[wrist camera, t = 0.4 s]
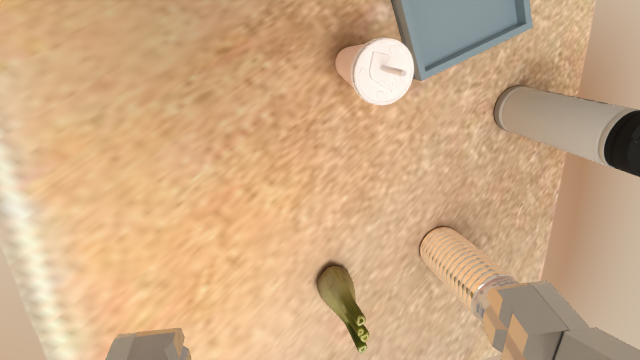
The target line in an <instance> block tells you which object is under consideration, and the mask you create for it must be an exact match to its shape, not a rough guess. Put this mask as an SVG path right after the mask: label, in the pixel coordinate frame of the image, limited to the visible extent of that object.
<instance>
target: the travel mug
mask: <svg viewBox="0 0 640 360" xmlns="http://www.w3.org/2000/svg"><path fill="white" fill-rule="evenodd" d="M494 117H495V121H496V123H497V125H498V126H499V127H500V128H502V129H504V130H507V131H510V132H512V133H515V134H518V135H521V136H524V137H527V138H529V139H532V140H535V141H538V142H541V143H544V144H546V145H549V146H552V147H555V148H558V149H560V150H563V151H566V152H569V153H572V154H575V155H578V156H580V157H583V158H586V159H589V160H592V161H594V162H597V163H600V164H603V165H607V166H609V167H611V168H616V169H620V170H622V171H625V172H627V173H631V174H633V175H636V176H639V177H640V110H637V109H633V108H628V107H622V106H618V105H613V104H608V103H603V102H598V101H593V100H588V99H583V98H578V97H573V96H568V95H564V94H559V93H554V92H549V91H544V90H539V89H534V88H529V87H524V86H513V87H511V88H509V89H507V90H506V91H505V92H504V93H503V94H502V95H501V96H500V97H499V99H498V101H497V103H496V106H495V110H494Z"/></svg>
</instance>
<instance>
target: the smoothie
mask: <svg viewBox="0 0 640 360" xmlns="http://www.w3.org/2000/svg"><path fill="white" fill-rule="evenodd" d="M335 67H336V70H337V72H338V74H339V75H340V76H341V77H342V78H343V79H345V80H346V81H347V82H348V83H349V84H350V85H351V86H353V87H354V90H355V92H356V93H357V94H358V95H359V97H360V98H362V99H363V100H365V101H366V102H369V103H372V104H375V105H387V104H391V103H393V102H395V101H397V100H398V99H400V98H401V97H402V96H403V95H404V94H405V93H406V91H407V90H408V88H409V87H410V85H411V82H412V79H413V75H414V62H413V58H412V55H411V53H410V51H409V50H408V48H407V47H406V46H405V45H404V44H403V43H401V42H399V41H398V40H395V39H391V38H384V37H380V38H376V39H373V40H371V41H369V42H367V43H366V44H361V45H356V46H350V47H346V48H344V49H342V50H341V51H340V52H339V53H338V55H337V57H336V60H335Z"/></svg>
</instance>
